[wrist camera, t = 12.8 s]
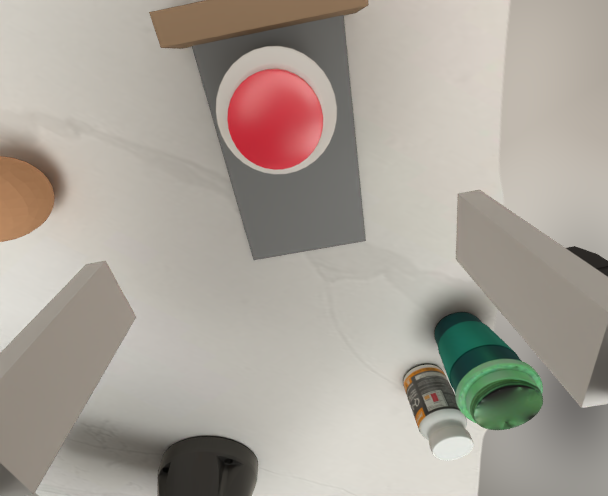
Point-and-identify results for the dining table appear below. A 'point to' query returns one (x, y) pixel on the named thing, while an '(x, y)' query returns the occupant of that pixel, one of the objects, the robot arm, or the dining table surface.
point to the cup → (487, 374)
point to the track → (342, 148)
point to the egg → (22, 198)
